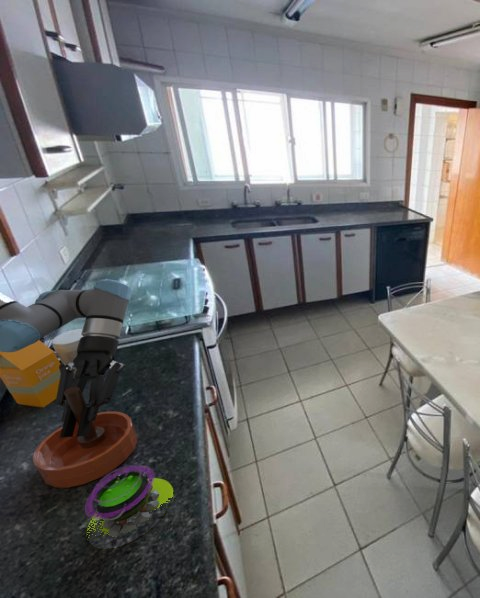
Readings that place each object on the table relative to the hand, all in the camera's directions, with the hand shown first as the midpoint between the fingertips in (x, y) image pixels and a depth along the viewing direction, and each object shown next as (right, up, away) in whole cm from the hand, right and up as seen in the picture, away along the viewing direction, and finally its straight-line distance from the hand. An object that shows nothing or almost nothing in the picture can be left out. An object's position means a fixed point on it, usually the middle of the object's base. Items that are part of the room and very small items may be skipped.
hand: (74, 436), depth 77 cm
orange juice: (-29, +2, +21) cm, 36 cm away
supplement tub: (-27, +7, +33) cm, 44 cm away
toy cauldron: (+18, -14, -6) cm, 24 cm away
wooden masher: (-1, -3, +6) cm, 7 cm away
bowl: (-1, -7, +6) cm, 9 cm away
